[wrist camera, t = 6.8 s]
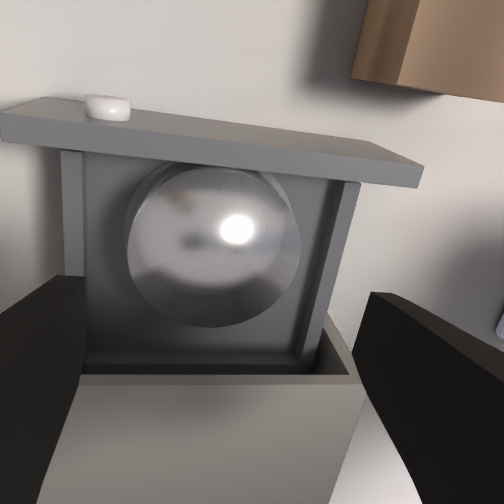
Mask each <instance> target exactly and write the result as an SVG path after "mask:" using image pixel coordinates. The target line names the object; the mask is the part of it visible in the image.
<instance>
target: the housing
mask: <svg viewBox="0 0 504 504" xmlns="http://www.w3.org/2000/svg"><path fill="white" fill-rule="evenodd" d="M366 395H367V393H366V391H365V389H364V387H363V384H362V382H361V379H360V377H359V374H358V371H357V368H356V365H355V362H354V359H353V357H352V354H351V352H350V350H349V348H348V347H347V345H346V343H345V342H344V340H343V338H342V337H341V335H340V333H339V331H338V330H337V328H336V326H335V325H334V323H333V321H332V320H331V318H330V316H329V315H328V313H327V314H326V317H325V321H324V325H323V328H322V332H321V336H320V340H319V343H318V347H317V351H316V354H315V358H314V362H313V366H312V369H311V373H310V375H81V376H80V380H79V385H78V388H77V391H76V394H75V397H74V399H73V402H72V405H71V408H70V410H69V413H68V416H67V419H66V421H65V424H64V427H63V429H62V432H61V435H60V438H59V440H58V443H57V446H56V448H55V451H54V454H53V457H52V459H51V462H50V465H49V467H48V470H47V473H46V475H45V478H44V481H43V484H42V487H41V490H40V494H39V497H38V500H37V503H36V504H328V503H329V501H330V498H331V495H332V492H333V489H334V486H335V483H336V480H337V478H338V475H339V472H340V469H341V466H342V463H343V460H344V458H345V455H346V452H347V449H348V446H349V443H350V440H351V437H352V435H353V432H354V429H355V426H356V423H357V420H358V417H359V415H360V412H361V409H362V406H363V403H364V400H365V397H366Z"/></svg>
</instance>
